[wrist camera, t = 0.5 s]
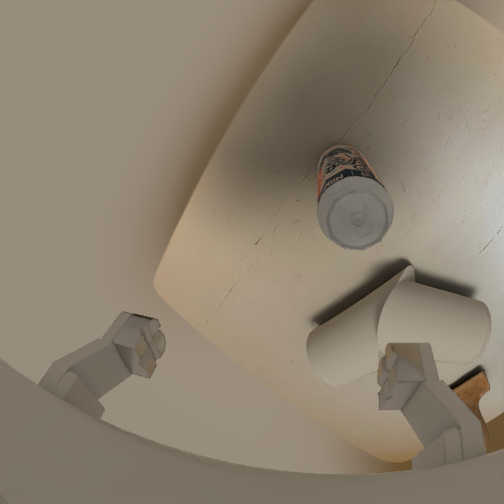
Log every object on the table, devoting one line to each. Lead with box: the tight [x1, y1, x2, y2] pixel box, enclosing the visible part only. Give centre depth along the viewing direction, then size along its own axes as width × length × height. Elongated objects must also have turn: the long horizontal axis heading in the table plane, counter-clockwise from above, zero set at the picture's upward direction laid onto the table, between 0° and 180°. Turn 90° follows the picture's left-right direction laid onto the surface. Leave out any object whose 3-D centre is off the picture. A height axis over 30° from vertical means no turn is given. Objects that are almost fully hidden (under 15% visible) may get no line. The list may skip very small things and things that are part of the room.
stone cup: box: [452, 371, 490, 450], centre depth 34 cm, size 15×12×15 cm
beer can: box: [317, 144, 394, 250], centre depth 21 cm, size 5×5×12 cm
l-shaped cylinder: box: [307, 265, 491, 388], centre depth 29 cm, size 18×10×20 cm
